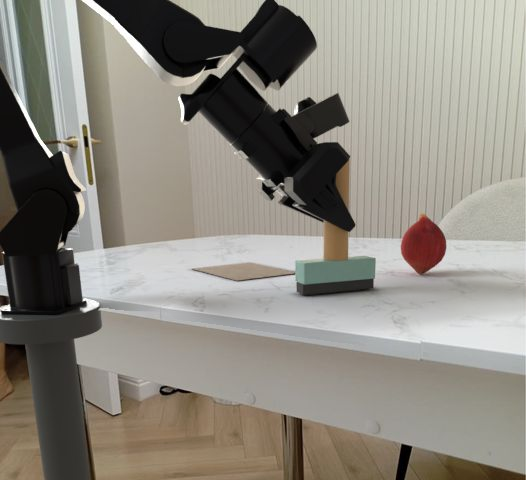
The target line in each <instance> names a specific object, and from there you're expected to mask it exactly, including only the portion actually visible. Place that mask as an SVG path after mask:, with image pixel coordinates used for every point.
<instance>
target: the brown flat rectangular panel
mask: <svg viewBox="0 0 526 480" xmlns="http://www.w3.org/2000/svg"><path fill="white" fill-rule="evenodd" d="M191 270H192V271H197V272H201V273H205V274H208V275H211V276H216V277H220V278H222V279H223V278H224V279H228V280H232V281H235V282H243V281H250V280H258V279H265V278H274V277H282V276H289V275H290V276H291V275H295V271H293V270H288V269H282V268H278V267H272V266H268V265H263V264H257V263H253V262H243V263H242V262H241V263H234V264H233V263H232V264H223V265H215V266H204V267H196V268H191Z"/></svg>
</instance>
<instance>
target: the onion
mask: <svg viewBox="0 0 526 480" xmlns="http://www.w3.org/2000/svg"><path fill="white" fill-rule="evenodd" d="M446 252H447V239H446V237H445V233H444V232H443V230H442V229H441V228H440V226H438V224H436V223H435V222H434V221H433V220H432V219H430V218H429V217H428V215H427V214H426V213H424V212H420V214H419V218H418V220H417V221H416V222H415V223H413V224H412V225H411V226H410V227H409V228H408V229H407V230H406V231H405V232H404V233H403V236H402V239H401V244H400V253H401V256H402V258H403V259H404V261H405V262H406V263H407V264H408V266H410V267H411V268H412V269H413V270H414V271H415V273H416V274H418V275H424V274H426V273H427V272H429V271H430V270H432V269H434V268H435V267H436V266H438V265H439V264H440V263H441V262H442V260H443V259H444V257H445V255H446Z"/></svg>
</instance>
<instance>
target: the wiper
mask: <svg viewBox="0 0 526 480" xmlns="http://www.w3.org/2000/svg"><path fill="white" fill-rule="evenodd" d="M350 165H351V158H350V159H349V161H348V162H347V163H346V164H345V165H344V166H343V167H342V168H341V169H340V171H339V172H338V173H337V175H336V187H337V189H338V191H339V193H340V195H341V197H342V199H343V201H344V203H345V205H346V207H347V209H348V211H349V212H350V171H351V170H350V169H351V168H350ZM322 257H323V258H312V259H310V258H309V259H299V260H298V259H297V260H295V261H294V263H295V264H294V265H295V269H294V272H295V274H294V275H295V279H294V280H295V282H296V293H298V294H300V295H303V296H304V295H306V296H307V295H316V294H327V293H337V292H339V293H340V292H348V291H349V292H350V291H361V290H371V289H374V288H375V287H374V286H375V285H374V283H375V279H376V265H377V263H376V262H377V261H376V260H377V259H376V258H377V257H373V256H367V255H355V256H354V255H353V256H349V232H347V231H345V230H343V229H341V228H339V227H336V226H334V225H332V224H330V223H328V222H326V221H324V223H323V255H322Z"/></svg>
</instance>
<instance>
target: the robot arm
mask: <svg viewBox="0 0 526 480" xmlns="http://www.w3.org/2000/svg"><path fill="white" fill-rule="evenodd" d="M81 1H82V2H83V3H85V4H86V5H87V6H88V7H90V8H91V9H92V10H93V11H95V12H96V13H97V14H98V15H99V16H101V17H102V18H104V19H105V20H106V21H107V22H108V23H110V24H111V25H112V26H113V27H114V28H115V29H116V30H117V31H118V32H119V34H121V36H122V37H123V38H124V39H125V40H126V42H127V43H128V44H129V45H130V47H131V48H132V49H133V50H134V52H135V53H136V54H137V55H138V56H139V57H140V58H141V59H142V61H143V62H144V63H145V64H146V65H147V66H148V67H149V68H150V69H151V71H152V72H153V73H154V74H155V75H156V76H157V77H158V78H159V79H160V80H161V81H163V82H164V83H166V84H168V85H170V86H172V87H183V86H188V85H191V84H193V83H194V82H196V81H197V79H198V78H199V77H200V76H201V75H202V74H203V73H205V72H210V71H215V70H219V69H221V68H222V67H223V66H224V65H225V63H226V62H228V60H229V59H230V58H231V56H233V57H234V59H236V60H235V62H234V63H233V64H232V65H231V66H230V67H229V68H228V69H227V70H226V72H224V74H223V75H222V76H221V77H219V76H218V75H216V74H214V73H209V74H208V75H207V76H206V77H205V78H204V79H203V81H201V83H200V84H199V85H198V86H197V88H195V89H194V91H192V93H180V95H179V96H178V103H179V105H180V111H181V117H180V123H181V124H182V125H185V126H186V125H188V124H189V123H190V122H191V121H192V120H193V118H194V117H195V116H196V115H197V114H198V113H199V114H200V115H201V116H202V117H203V118H204V119H205V120H206V122H207V123H208V124H210V126H211V127H212V128H213V129H214V130H215V131H216V132H217V133H218V134H219V135H220V136H221V137H222V139H224V140H225V141H226V142H227V143H228V144H229V145H230V146H231V147H232V148H233V149H234V150H235V152H234V154H235V156H236V157H237V158H238V159H239V160H241V161H242V160H245V162H247V163H248V164H249V165H250V166H251V168H252V169H254V171H255V172H256V173H258V174H259V175H258V176H257V177H256V178H255V180H256V182H255V183H256V191H257V192H258V193H259V194H260V195H261V196H263V198H264V199H265V200H266V201H273V200H274V199H275V198H276V196H275V195H274V193H276V192H277V193H278V194H279V196H281V198H280V199H279V200H277V201H278V202H277V204H278V205H280V206H283V207H284V208H285V207H286V208H287V209H290V210H293V211H295V212H297V213H299V214H301V215H304V216H306V217H308V218H311V219H313V220H316V221H318V222H320V223H323V224H324V221H326V222H328V223H330V224H332V225H334V226H336V227H339V228H341V229H343V230H345V231H347V232H348V233H350V232H352V231H353V230H354V229H355V227H356V222H355V220H354V218H353V216H352V214H351V212H350V210H349V211H348V209H347V207H346V205H345V203H344V201H343V199H342V197H341V195H340V193H339V191H338V189H337V187H336V175H337V173H338V172H339V171H340V169H341V168H342V167H343V166H344V165H345V164H346V163H347V162H348V161H349V159H350V160H351V155H350V153H348V152H347V151H346V150H345V149H344V147H343V146H342V145H341V144H340V143H339V142H338V141H323V142H319V143H318V141H316V140H315V139H316V138H318V137H320V136H322V135H324V134H325V133H328V132H330V131H331V130H334V129H335V128H337V127H339V128H341V127H343V126H345V125H347V124H349V123H350V118H349V116H348V114H347V112H346V108H345V106H344V104H343V101H342V98H341V96H340V93H339V92H336V93H334V94H332V95H329V96H327V97H326V98H324V99H321V100H319V101H318V102H317V101H315V100H314V99H313V98H311V97H310V96H307V97H306V98H304V99H301V100H300V101H298V102H296V103H294V105H293V114H292V115H291V114H290V113H289V112H288V111H287V110H286V109H285V108H281V107H280V108H277V109H276V110H275V108H273V106H272V105H271V104H270V103H269V102H268V101H267V100H266V99H265V98H264V97H263V95H262V94H261V93H260V92H259V91H258V90H261V91H262V92H266V91H267V90H268V89H269V88H270V89H272V90H274V91H280V90H281V89H282V88H283V87H284V86H285V84H287V83H288V81H289V80H290V79H291V78H292V77H293V76H294V74H295V73H296V72H297V71H298V70H299V69H300V68H301V67H302V65H304V63H305V62H306V61H307V60H309V58H310V57H311V56H312V55H313V54H314V52H315V51H317V48H318V43H317V40H316V37H315V34H314V33H313V31H312V29H311V28H310V26H309V25H308V24H307V22H306V21H305V20H304V18H303V17H302V16H301V15H297V14H295V12H294V11H292V10H291V9H289V8H288V7H286V6H284V5H281V4H278V2H277V1H276V0H264V1H263V3H262V4H261V5H260V6H259V7H258V9H257V10H256V12H255V14H254V16H253V17H252V18H251V20H249V22H248V23H247V24H246V25H245V26H244V27H243V29H242V30H241V31H236V30H232V29H226V28H220V27H215V26H214V27H213V26H209V25H206V24H205V23H204V22H203V21H202V20H201V18H199V17H198V16H196V15H195V14H193V13H192V12H190V11H188V9H185V8H183V7H182V6H180V5H178V4H176V3H175V2H173V1H171V0H81ZM238 68H239V69H240V70H241V72H242V73H243V74H244V75H243V74H242V73H241V72H240V70H239V69H238ZM251 83H252V84H251ZM254 86H255V87H256V88H257V89H258V90H257V89H256V88H255V87H254ZM0 154H1V157H2V161H3V165H4V170H5V174H6V179H7V183H8V187H9V190H10V193H11V196H12V200H13V201H14V204H15V205H14V206H15V208H16V211H17V212H16V213H15V214H14V215H13V216H12V217H11V219H9V220H8V222H7V223H6V224H5V225H4V226H3V227H2V229H1V230H0V247H1V250H2V251H3V252H1V256H2V260H3V261H2V262H3V268H4V275H5V283H6V287H7V288H6V289H7V296H8V304H9V305H10V307H7V308H4V309H2V310H1V314H4V315H60V314H62V313H65V312H67V311H69V310H72V309H74V308H77V307H79V306H81V305H84V304H86V303H87V300H86V299H87V298H83V291H82V281H81V272H80V265H79V264H78V262H75V253H74V248H66V247H65V246H66V245H67V241H68V237H69V234H70V232H71V231H73V230H74V229H75V228H76V227H77V226H78V225H79V224H80V223H81V222H82V221H83V217H84V214H85V210H86V206H85V205H86V203H85V200H84V197H83V195H82V193H83V192H86V191H87V188H86V187H85V186H84V185H83V184H82V183H81V182H80V181H79V179H78V178H77V175H76V174H75V171H74V167H73V164H72V160H71V158H70V155H69V154H68V153H67V152H64V151H62V150H59V151H57V152H56V153H54V154H53V153H52V152H51V151H50V150H49V148H48V147H47V146H46V144H45V143H44V142H43V140H42V139H41V137H40V135H39V133H38V131H37V129H36V127H35V125H34V122H33V121H32V119H31V117H30V115H29V113H28V111H27V109H26V108H25V105H24V104H23V101H22V99H21V97H20V95H19V94H18V92H17V89H16V88H15V86H14V84H13V81H12V79H11V78H10V75H9V73H8V72H7V70H6V68H5V66H4V64H3V62H2V60H1V59H0Z"/></svg>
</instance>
